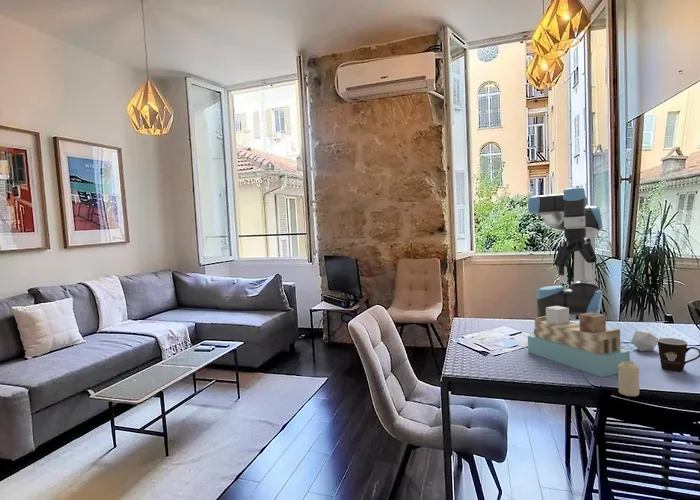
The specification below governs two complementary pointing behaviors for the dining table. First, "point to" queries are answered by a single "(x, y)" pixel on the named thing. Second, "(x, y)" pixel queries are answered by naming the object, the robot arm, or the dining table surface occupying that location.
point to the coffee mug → (673, 354)
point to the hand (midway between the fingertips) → (576, 281)
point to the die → (644, 340)
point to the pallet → (578, 336)
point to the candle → (628, 378)
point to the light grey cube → (557, 315)
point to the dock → (578, 356)
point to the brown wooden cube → (592, 322)
